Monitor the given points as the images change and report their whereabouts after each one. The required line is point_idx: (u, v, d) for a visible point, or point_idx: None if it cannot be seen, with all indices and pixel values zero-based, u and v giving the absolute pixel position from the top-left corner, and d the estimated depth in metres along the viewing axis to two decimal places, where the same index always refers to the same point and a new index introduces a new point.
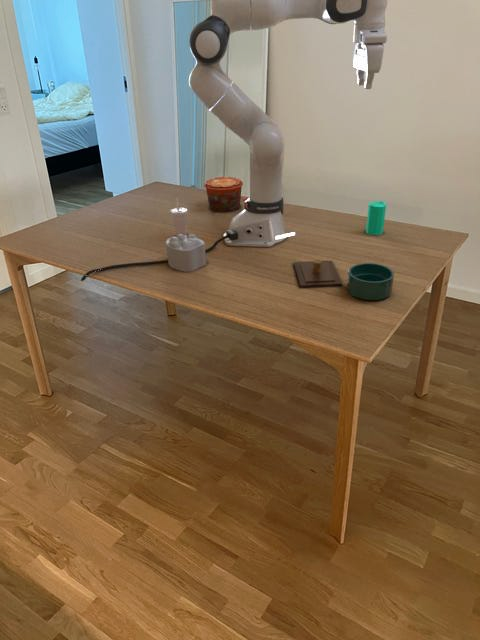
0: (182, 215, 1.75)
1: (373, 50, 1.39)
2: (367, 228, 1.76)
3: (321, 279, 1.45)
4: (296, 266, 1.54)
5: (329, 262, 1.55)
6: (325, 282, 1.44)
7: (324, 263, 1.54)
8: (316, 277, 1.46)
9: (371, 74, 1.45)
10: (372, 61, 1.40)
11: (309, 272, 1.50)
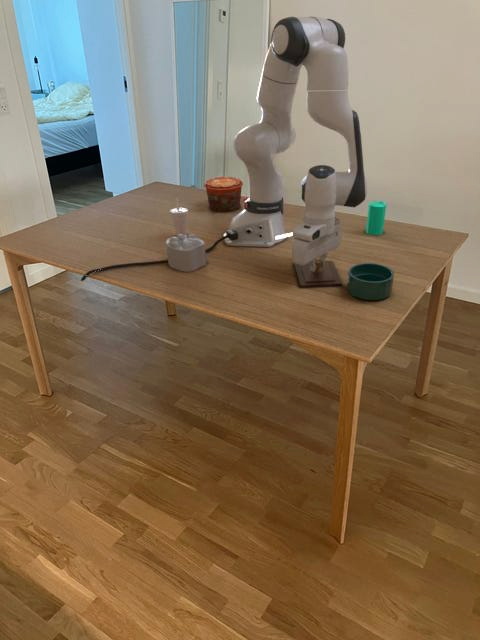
0: (182, 215, 1.75)
1: (296, 245, 1.38)
2: (367, 228, 1.76)
3: (321, 279, 1.45)
4: (296, 266, 1.54)
5: (329, 262, 1.55)
6: (325, 282, 1.44)
7: None
8: (316, 277, 1.46)
9: None
10: (295, 254, 1.40)
11: (309, 271, 1.50)
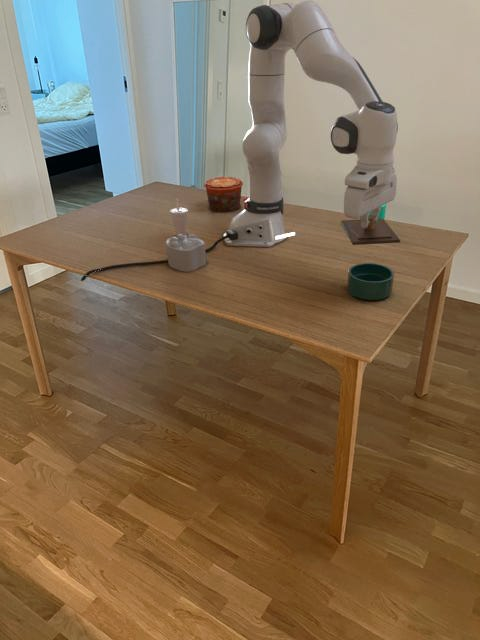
0: (182, 215, 1.75)
1: (350, 194, 1.20)
2: None
3: (376, 235, 1.27)
4: (344, 224, 1.36)
5: (381, 220, 1.37)
6: (381, 239, 1.26)
7: None
8: (369, 234, 1.28)
9: None
10: (347, 206, 1.22)
11: (360, 229, 1.32)
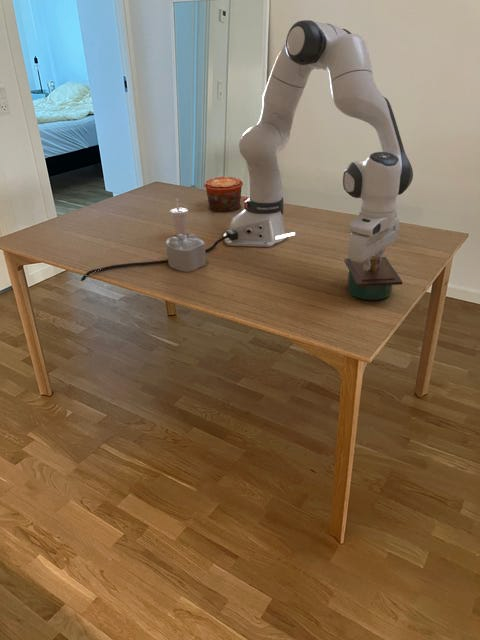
0: (182, 215, 1.75)
1: (354, 240, 1.25)
2: None
3: (379, 277, 1.32)
4: (348, 263, 1.41)
5: (383, 259, 1.42)
6: (384, 281, 1.30)
7: None
8: (373, 275, 1.33)
9: None
10: (352, 251, 1.26)
11: None
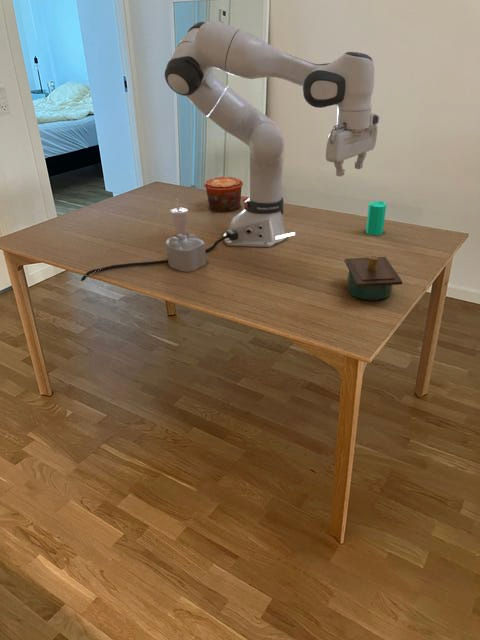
0: (182, 215, 1.75)
1: None
2: (367, 228, 1.76)
3: (379, 277, 1.32)
4: (348, 263, 1.41)
5: (383, 259, 1.42)
6: (384, 281, 1.30)
7: (378, 260, 1.41)
8: (373, 275, 1.33)
9: None
10: None
11: (364, 269, 1.36)
